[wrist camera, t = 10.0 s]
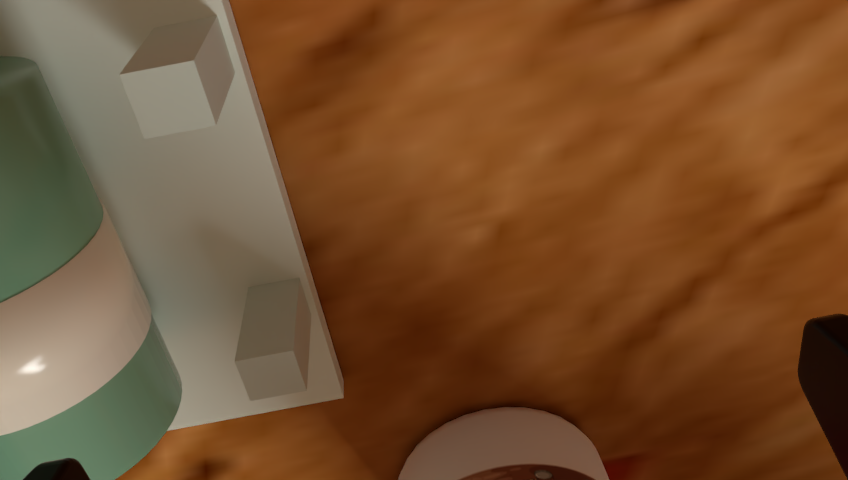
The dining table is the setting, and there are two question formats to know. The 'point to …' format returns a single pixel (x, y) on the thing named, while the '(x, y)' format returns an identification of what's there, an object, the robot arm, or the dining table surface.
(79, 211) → the bottle
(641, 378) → the dining table surface
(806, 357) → the robot arm
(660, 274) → the dining table surface
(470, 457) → the milk bottle
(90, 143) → the white four-legged tray
